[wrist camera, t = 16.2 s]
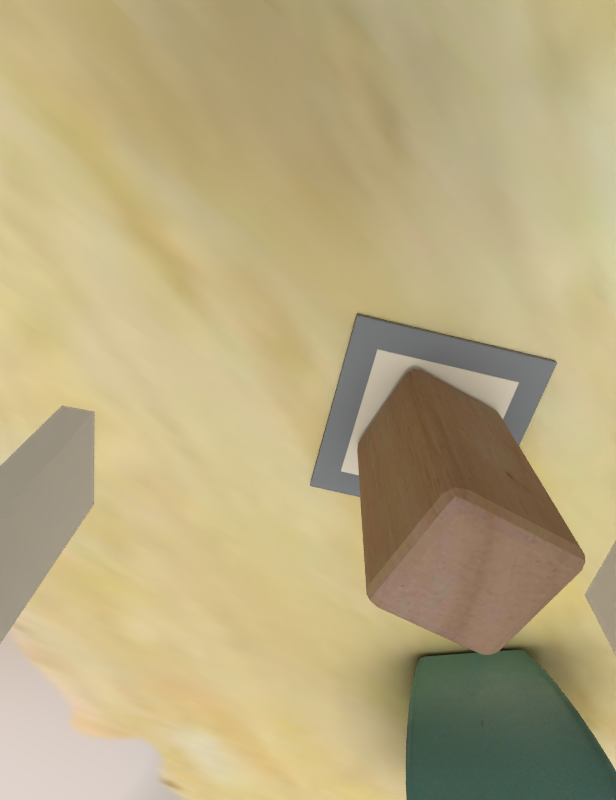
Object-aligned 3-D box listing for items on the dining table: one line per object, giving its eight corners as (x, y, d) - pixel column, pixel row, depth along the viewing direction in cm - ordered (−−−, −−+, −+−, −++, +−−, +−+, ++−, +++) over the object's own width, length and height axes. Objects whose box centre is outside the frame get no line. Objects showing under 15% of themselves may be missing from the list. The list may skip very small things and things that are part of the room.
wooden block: (503, 411, 49) (599, 564, 31) (440, 490, 53) (492, 666, 35) (410, 360, 48) (455, 491, 30) (352, 445, 52) (361, 607, 34)
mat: (357, 313, 47) (357, 316, 46) (554, 360, 48) (557, 363, 47) (310, 482, 55) (310, 486, 54) (481, 520, 56) (483, 524, 55)
